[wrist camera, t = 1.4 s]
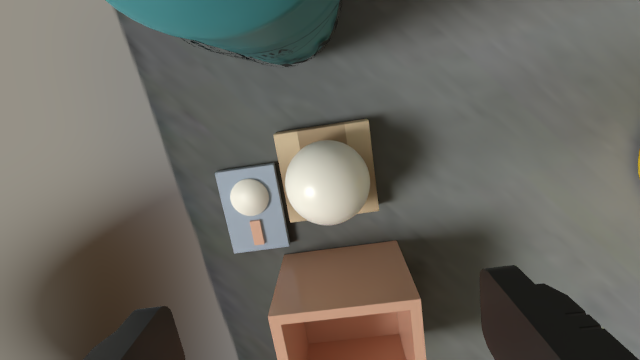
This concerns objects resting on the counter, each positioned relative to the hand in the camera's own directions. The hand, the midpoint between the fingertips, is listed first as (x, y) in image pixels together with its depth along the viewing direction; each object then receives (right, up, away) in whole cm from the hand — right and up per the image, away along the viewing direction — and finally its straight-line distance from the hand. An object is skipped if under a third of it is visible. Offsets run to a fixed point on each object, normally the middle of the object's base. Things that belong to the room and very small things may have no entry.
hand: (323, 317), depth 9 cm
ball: (0, +3, +12) cm, 12 cm away
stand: (0, +4, +15) cm, 15 cm away
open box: (+2, -5, +17) cm, 18 cm away
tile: (-5, +2, +16) cm, 16 cm away
